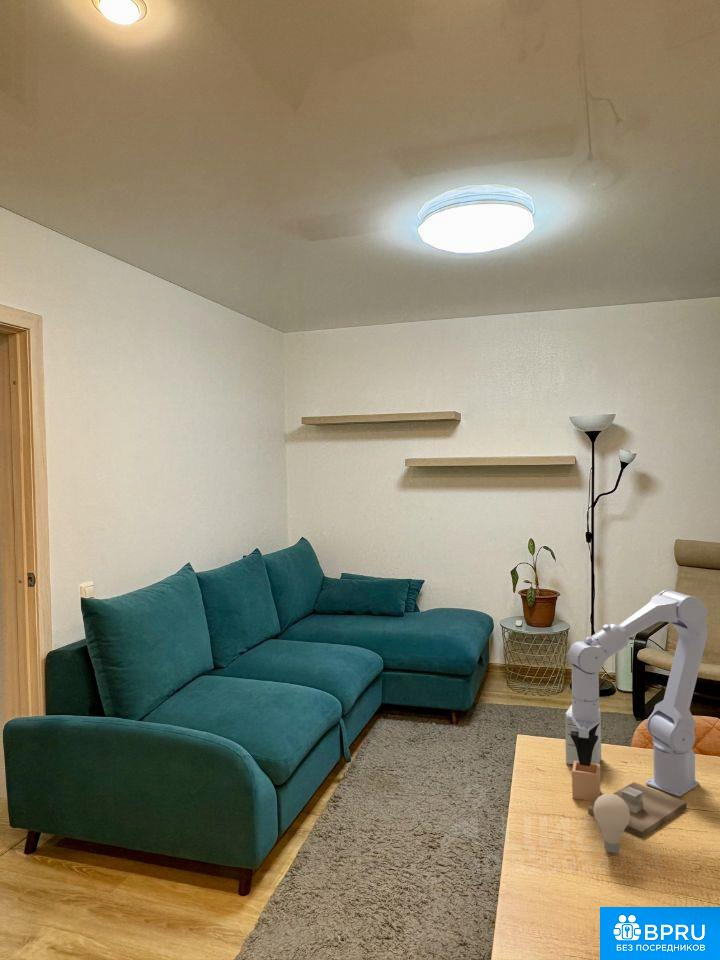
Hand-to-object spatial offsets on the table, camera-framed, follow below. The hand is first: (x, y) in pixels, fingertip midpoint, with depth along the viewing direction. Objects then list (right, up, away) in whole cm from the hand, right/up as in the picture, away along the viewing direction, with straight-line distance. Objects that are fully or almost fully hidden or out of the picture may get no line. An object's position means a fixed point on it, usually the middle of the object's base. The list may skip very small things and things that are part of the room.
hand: (586, 757), depth 150 cm
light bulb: (-3, -9, -22) cm, 24 cm away
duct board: (+8, -8, -7) cm, 14 cm away
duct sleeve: (0, -8, 0) cm, 8 cm away
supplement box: (+5, -8, +17) cm, 19 cm away
